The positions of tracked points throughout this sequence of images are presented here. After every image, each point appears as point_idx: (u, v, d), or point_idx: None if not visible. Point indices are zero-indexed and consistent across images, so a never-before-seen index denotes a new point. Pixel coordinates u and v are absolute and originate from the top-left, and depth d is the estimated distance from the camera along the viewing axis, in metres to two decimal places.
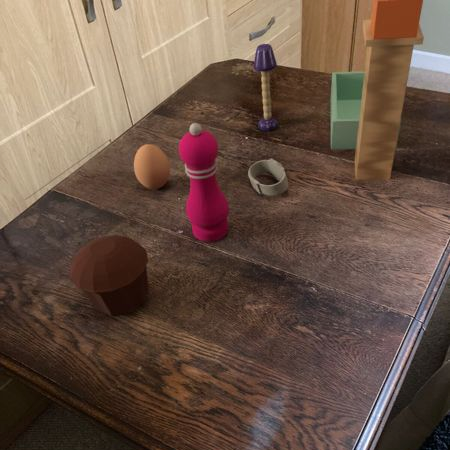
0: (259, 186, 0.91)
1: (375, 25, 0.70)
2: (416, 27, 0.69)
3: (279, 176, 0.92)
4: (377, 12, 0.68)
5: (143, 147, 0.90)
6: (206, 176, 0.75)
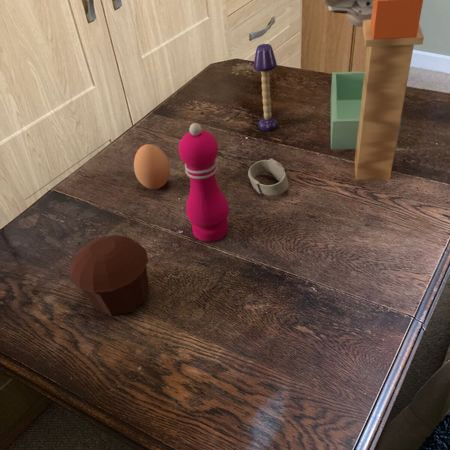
0: (259, 186, 0.91)
1: (375, 25, 0.70)
2: (416, 27, 0.69)
3: (279, 176, 0.92)
4: (377, 12, 0.68)
5: (143, 147, 0.90)
6: (206, 176, 0.75)
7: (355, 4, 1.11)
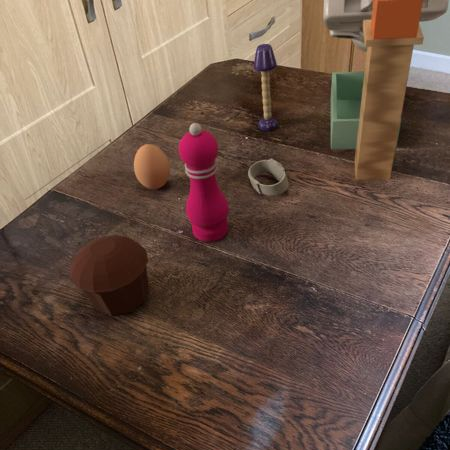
0: (259, 186, 0.91)
1: (375, 25, 0.70)
2: (416, 27, 0.69)
3: (279, 176, 0.92)
4: (377, 12, 0.68)
5: (143, 147, 0.90)
6: (206, 176, 0.75)
7: None
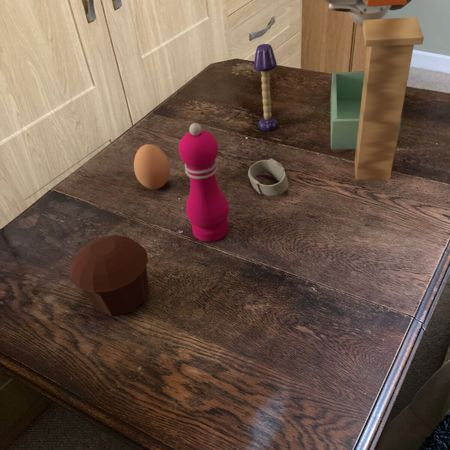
0: (259, 186, 0.91)
1: None
2: None
3: (279, 176, 0.92)
4: None
5: (143, 147, 0.90)
6: (206, 176, 0.75)
7: (359, 1, 0.97)
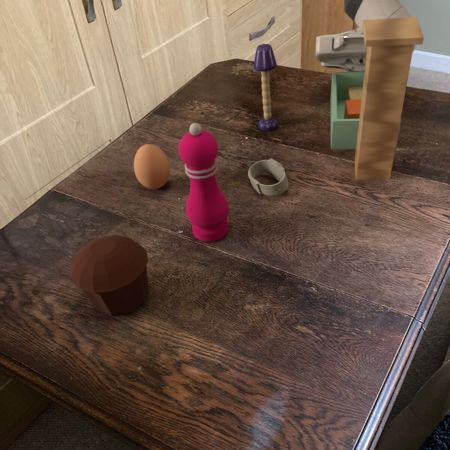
0: (259, 186, 0.91)
1: None
2: None
3: (279, 176, 0.92)
4: None
5: (143, 147, 0.90)
6: (206, 176, 0.75)
7: (348, 60, 1.10)
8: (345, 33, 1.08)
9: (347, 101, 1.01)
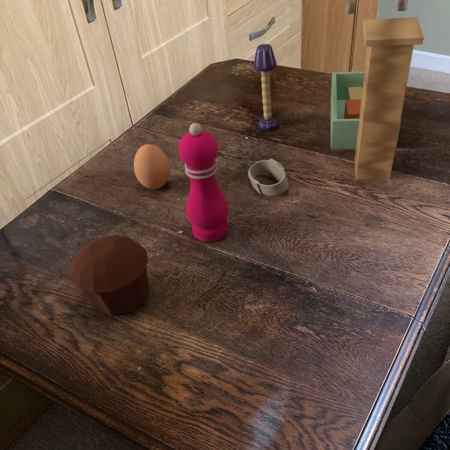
0: (259, 186, 0.91)
1: None
2: None
3: (279, 176, 0.92)
4: None
5: (143, 147, 0.90)
6: (206, 176, 0.75)
7: None
8: None
9: (347, 101, 1.01)
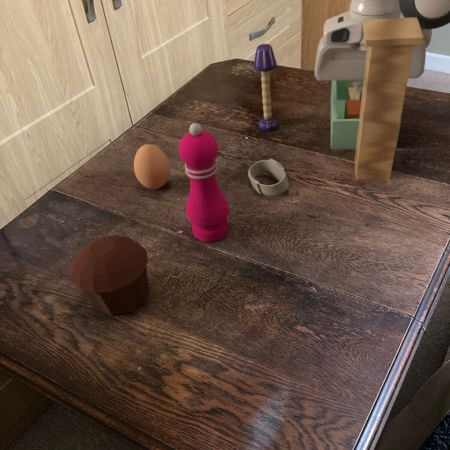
0: (259, 186, 0.91)
1: None
2: None
3: (279, 176, 0.92)
4: None
5: (143, 147, 0.90)
6: (206, 176, 0.75)
7: None
8: None
9: (347, 101, 1.01)
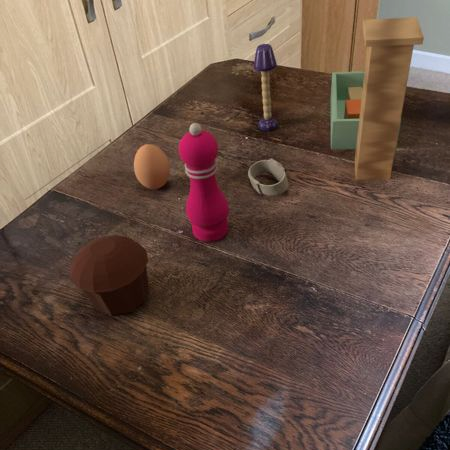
0: (259, 186, 0.91)
1: None
2: None
3: (279, 176, 0.92)
4: None
5: (143, 147, 0.90)
6: (206, 176, 0.75)
7: None
8: None
9: (347, 101, 1.01)
